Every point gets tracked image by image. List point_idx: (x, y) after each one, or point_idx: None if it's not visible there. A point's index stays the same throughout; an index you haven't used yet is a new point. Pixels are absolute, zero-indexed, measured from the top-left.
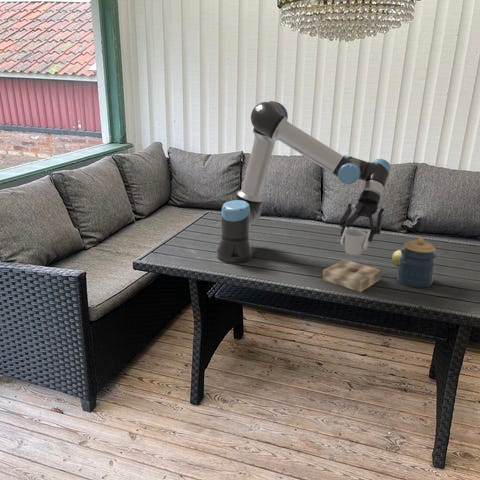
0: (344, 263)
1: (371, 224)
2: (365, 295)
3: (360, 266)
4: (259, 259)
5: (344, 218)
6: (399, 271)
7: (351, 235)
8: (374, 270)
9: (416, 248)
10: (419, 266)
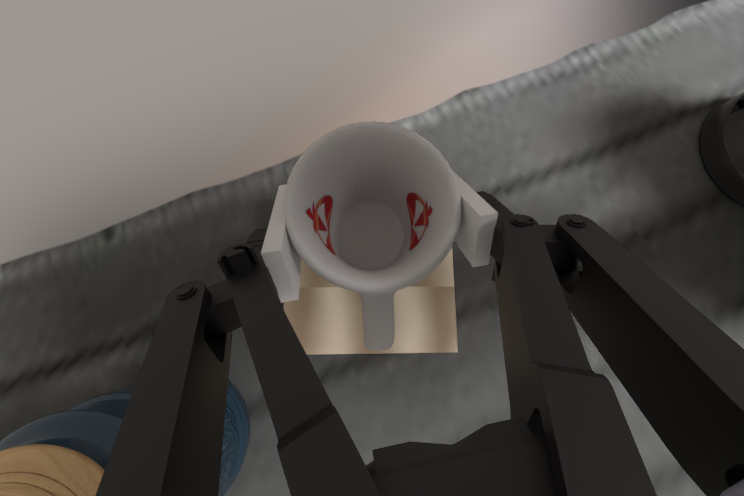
0: (430, 307)
1: (262, 313)
2: (275, 189)
3: None
4: (691, 195)
5: (603, 261)
6: None
7: (367, 122)
8: (302, 327)
9: (4, 474)
10: (77, 406)
